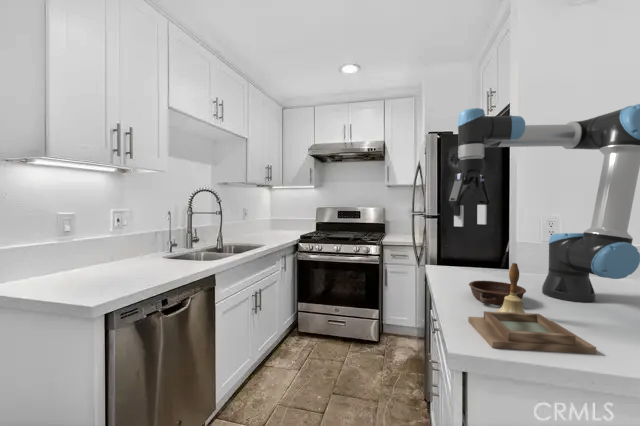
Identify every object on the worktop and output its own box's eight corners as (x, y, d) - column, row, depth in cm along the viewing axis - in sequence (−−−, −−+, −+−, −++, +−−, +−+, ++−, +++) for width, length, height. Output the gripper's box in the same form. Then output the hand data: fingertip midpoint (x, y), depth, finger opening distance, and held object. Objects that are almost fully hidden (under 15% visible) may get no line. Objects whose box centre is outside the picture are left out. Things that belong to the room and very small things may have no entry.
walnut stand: (551, 325, 85) (552, 313, 85) (596, 354, 70) (596, 338, 69) (468, 321, 88) (468, 309, 88) (492, 347, 72) (492, 333, 72)
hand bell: (528, 314, 95) (529, 262, 94) (529, 323, 88) (530, 267, 87) (497, 309, 99) (498, 259, 98) (495, 317, 92) (497, 264, 91)
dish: (530, 298, 111) (530, 284, 111) (519, 314, 95) (519, 298, 95) (477, 289, 123) (478, 276, 123) (459, 302, 106) (460, 287, 106)
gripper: (480, 162, 109) (479, 222, 110) (436, 157, 95) (436, 226, 96) (502, 160, 103) (501, 223, 104) (459, 154, 89) (459, 228, 90)
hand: (470, 225), depth 100 cm, fingers open, 13 cm apart
